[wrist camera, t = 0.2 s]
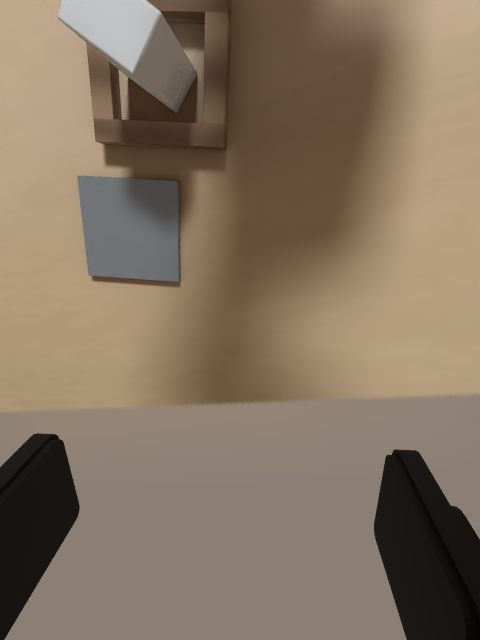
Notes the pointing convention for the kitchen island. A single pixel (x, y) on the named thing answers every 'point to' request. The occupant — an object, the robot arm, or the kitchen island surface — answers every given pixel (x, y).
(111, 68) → the pocket holder
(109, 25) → the skincare box
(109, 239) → the slate mat
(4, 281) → the kitchen island surface
